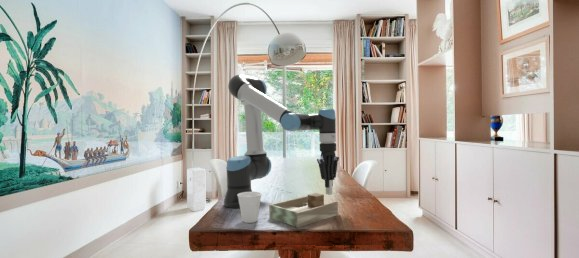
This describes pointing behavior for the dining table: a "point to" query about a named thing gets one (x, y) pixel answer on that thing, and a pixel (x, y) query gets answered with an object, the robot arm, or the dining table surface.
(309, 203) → the block
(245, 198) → the cup
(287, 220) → the box
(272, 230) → the dining table surface
